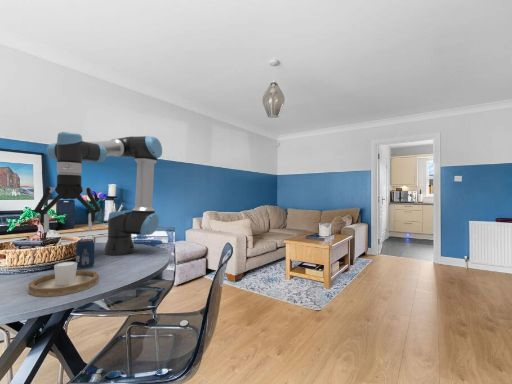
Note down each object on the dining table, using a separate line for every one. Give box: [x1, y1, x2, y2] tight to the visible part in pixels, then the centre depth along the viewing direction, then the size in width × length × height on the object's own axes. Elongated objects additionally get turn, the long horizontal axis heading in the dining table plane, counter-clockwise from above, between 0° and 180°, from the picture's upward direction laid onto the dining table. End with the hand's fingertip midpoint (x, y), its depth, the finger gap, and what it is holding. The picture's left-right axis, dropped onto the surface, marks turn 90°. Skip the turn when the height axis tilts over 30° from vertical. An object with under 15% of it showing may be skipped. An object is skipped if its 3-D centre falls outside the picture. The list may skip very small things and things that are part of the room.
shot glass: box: [53, 261, 78, 286], centre depth 95 cm, size 7×7×7 cm
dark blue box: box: [75, 238, 96, 270], centre depth 117 cm, size 7×7×12 cm
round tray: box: [28, 269, 100, 298], centre depth 95 cm, size 20×20×2 cm
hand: (68, 231), depth 98 cm, fingers open, 13 cm apart
